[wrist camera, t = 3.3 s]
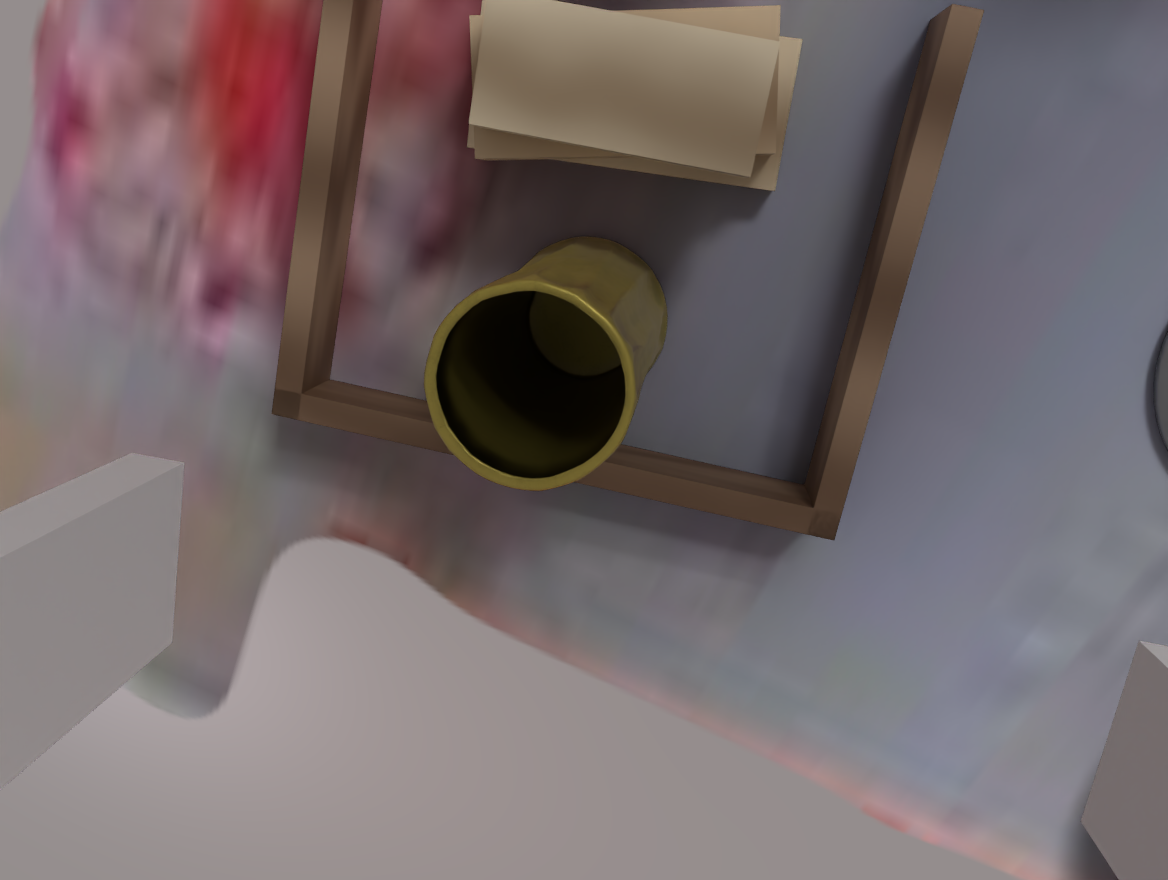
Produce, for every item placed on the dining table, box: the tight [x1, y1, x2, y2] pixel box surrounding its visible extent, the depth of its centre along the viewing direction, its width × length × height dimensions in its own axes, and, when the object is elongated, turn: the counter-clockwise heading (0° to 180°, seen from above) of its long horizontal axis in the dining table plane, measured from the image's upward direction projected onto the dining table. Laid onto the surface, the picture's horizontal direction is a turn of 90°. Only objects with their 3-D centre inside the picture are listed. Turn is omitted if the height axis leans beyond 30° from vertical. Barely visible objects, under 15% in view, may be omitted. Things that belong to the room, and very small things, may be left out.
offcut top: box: [469, 0, 780, 178], centre depth 32 cm, size 4×9×2 cm, turn 79°
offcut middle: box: [469, 5, 780, 160], centre depth 34 cm, size 4×10×2 cm, turn 91°
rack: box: [272, 0, 984, 540], centre depth 36 cm, size 18×21×3 cm
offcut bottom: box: [467, 0, 803, 191], centre depth 36 cm, size 5×11×2 cm, turn 82°
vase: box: [424, 236, 668, 491], centre depth 31 cm, size 6×6×14 cm
